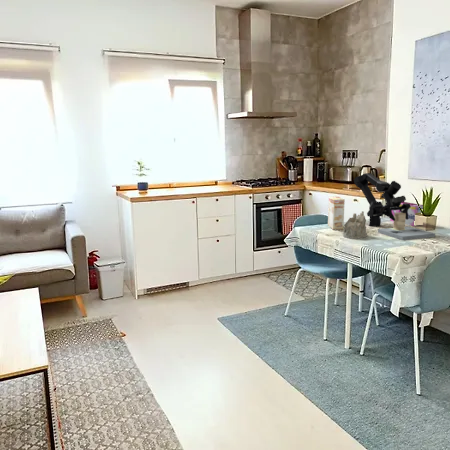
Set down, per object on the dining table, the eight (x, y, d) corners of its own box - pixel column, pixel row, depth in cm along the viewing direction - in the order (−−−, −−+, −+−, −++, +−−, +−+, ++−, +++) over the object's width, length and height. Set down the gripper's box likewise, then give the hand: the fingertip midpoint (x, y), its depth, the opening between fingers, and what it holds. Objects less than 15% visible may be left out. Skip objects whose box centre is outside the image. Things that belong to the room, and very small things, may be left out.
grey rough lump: (352, 231, 263) (352, 207, 259) (372, 237, 249) (373, 212, 245) (333, 235, 256) (333, 211, 253) (352, 242, 242) (353, 216, 238)
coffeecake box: (343, 229, 269) (345, 199, 265) (332, 229, 269) (333, 199, 265) (338, 225, 283) (339, 196, 280) (327, 225, 283) (328, 196, 280)
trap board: (377, 232, 259) (378, 229, 259) (408, 229, 265) (408, 226, 265) (402, 239, 238) (402, 236, 238) (435, 236, 245) (435, 233, 244)
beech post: (393, 228, 259) (394, 212, 257) (399, 228, 260) (400, 212, 258) (398, 230, 254) (399, 213, 252) (404, 229, 256) (405, 213, 254)
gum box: (388, 220, 296) (389, 201, 294) (397, 219, 299) (398, 200, 296) (414, 226, 274) (416, 206, 272) (423, 225, 277) (425, 205, 274)
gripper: (383, 192, 254) (394, 213, 246) (409, 190, 259) (421, 210, 251) (375, 203, 263) (385, 223, 255) (400, 201, 268) (411, 221, 260)
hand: (401, 219), depth 255 cm, fingers open, 9 cm apart
